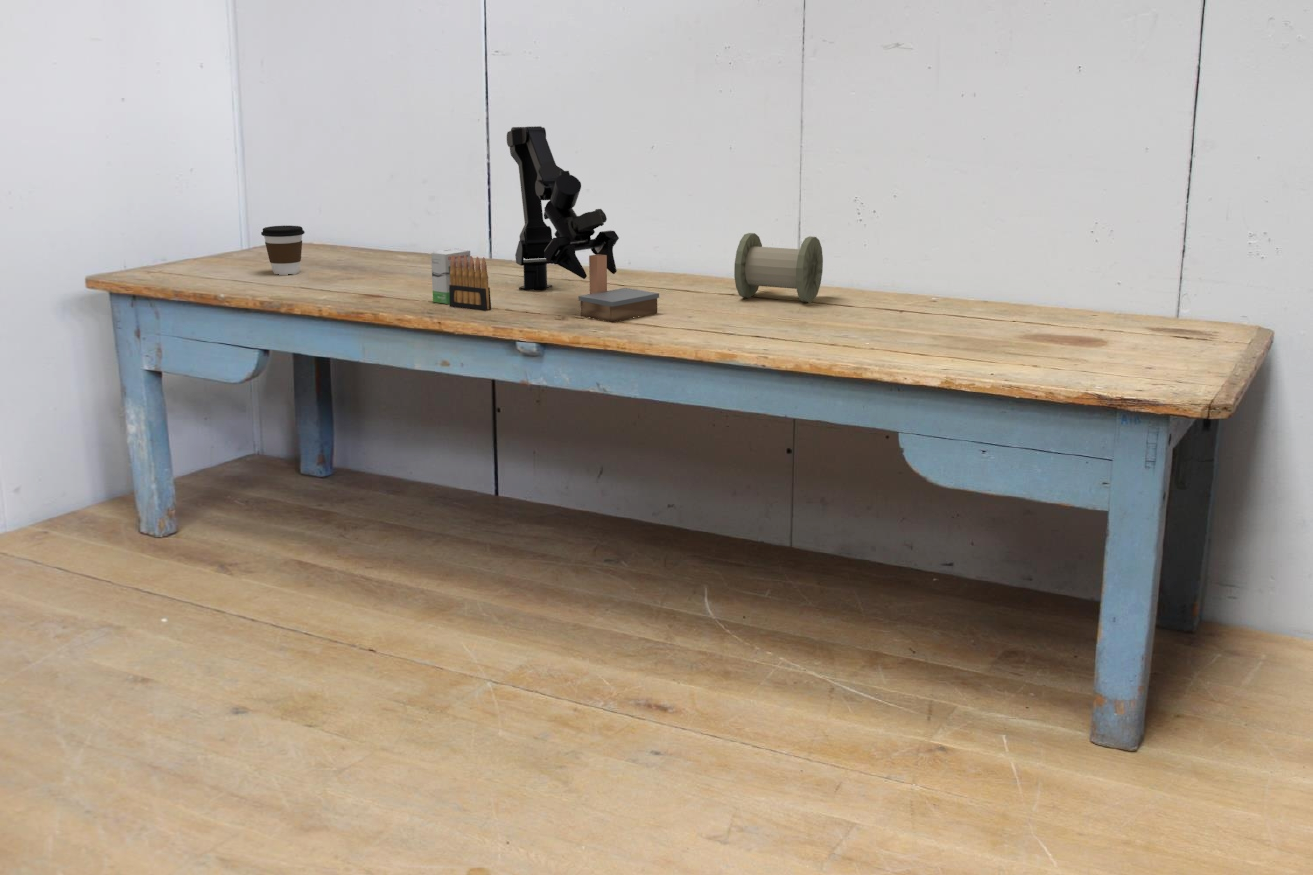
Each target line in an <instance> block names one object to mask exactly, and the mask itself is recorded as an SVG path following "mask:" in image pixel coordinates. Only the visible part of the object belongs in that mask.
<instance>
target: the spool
mask: <svg viewBox="0 0 1313 875" xmlns="http://www.w3.org/2000/svg"><path fill="white" fill-rule="evenodd" d="M821 244H822V243H821V241H820V239H819V238H817V236H811V235H810V236H807V237H805V238H804V240H803V241H802V242H801V245H800V248H789V247H788V248H786V247H769V246H763V243H762V241H761V239H760V236H758V234H756V233H754V232H748V233H745V234H743V236H742V237H741V239H740V240H739V243H738V245H737V248H736V253H735V258H734V275H733V276H734V282H735V283H734V284H735V288H736V291H737V293H738V295H739V296H740V297H741V298H743V297H744V299H750V298H752V297H751V296H752V295H754V296H755V295H756V294H757V292H758V290H759V287H767V288H768V287H769V288H779V289H791V290H792V289H794V290H796V294H797V295H798V299H799V301H801V303H804V302H808V304H810V303H812V302H813V300H814V299H816V298H817V296H818V293H819V291H820V288H821V285H822V284H821V283H822V278H823V277H822V276H823V270H824V269H823V268H824V267H823V264H824V257H823V247H822V245H821ZM749 297H750V298H749ZM814 301H815V300H814ZM809 302H810V303H809Z"/></svg>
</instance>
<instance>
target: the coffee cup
mask: <svg viewBox="0 0 1313 875" xmlns="http://www.w3.org/2000/svg"><path fill="white" fill-rule="evenodd" d="M305 233H306V232H305V230H304V229H303V227H302V226H301V225H272V226H267V227H263V228H262V231H261V236H263V237H264V243H265V248H266V252H267V256H268V260H269V263H270V265H271V269H272V272H273V273H274V275H275V274H279V275H278V276H289V275H288V274H294V275H298V274H299V272H300V268H301V265H300V264H301V261H302V250H303V248H302V247H303V235H304V234H305Z"/></svg>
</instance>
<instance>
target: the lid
mask: <svg viewBox="0 0 1313 875" xmlns="http://www.w3.org/2000/svg"><path fill="white" fill-rule="evenodd" d="M588 265H589V266H588V267H589V270H588V271H589V277H588V279H589V293H588V294H583V295H578V298H577V299H578V301H579V302H580V301H584V302H589V303H595V304H600V305H606V306H611V307H614V306H619V305H624V304H629V303H635V302H640V301H645V300H650V299H655V298H657V299H660V293H659V292H654V291H647V290H642V289H641V290H640V289H635V288H630V287H629V288H628V287H622V288H618V289H617V288H616V289H612V290H611V289H610V290H608V274H607V273H608V269H607V255H601V254H597V255H596V254H590V255H589V256H588Z"/></svg>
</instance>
